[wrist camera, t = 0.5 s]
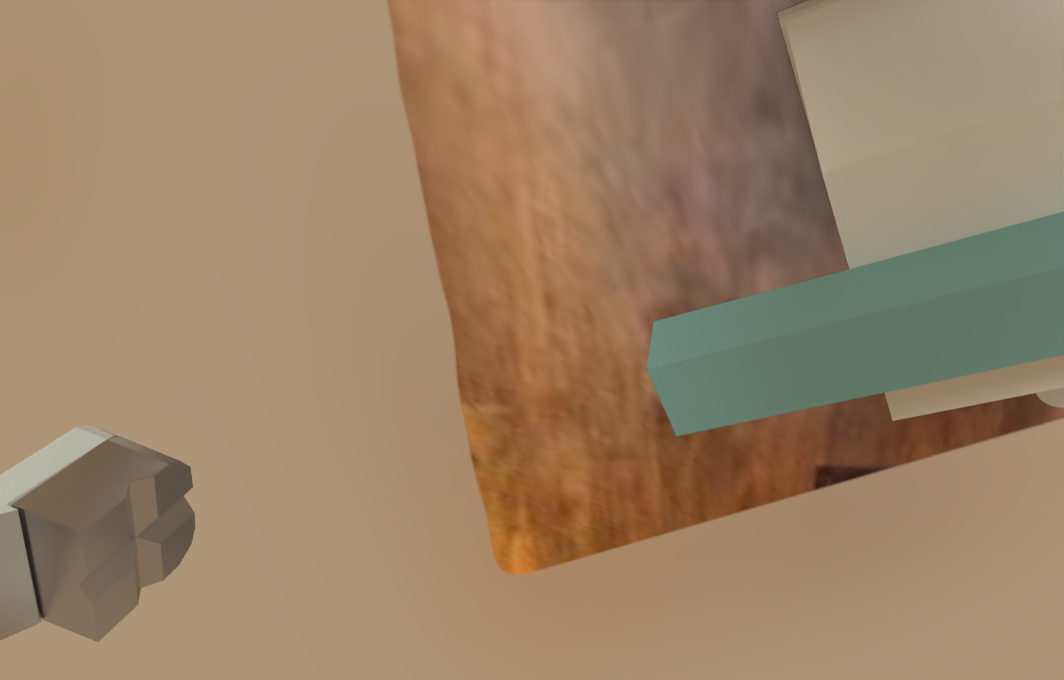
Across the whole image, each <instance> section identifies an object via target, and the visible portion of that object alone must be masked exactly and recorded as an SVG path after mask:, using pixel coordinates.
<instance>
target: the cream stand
mask: <svg viewBox="0 0 1064 680" xmlns="http://www.w3.org/2000/svg"><path fill="white" fill-rule="evenodd" d="M777 13H778V18H779V22H780V25H781V29H782V32H783V36H784V39H785V43H786V46H787V50H788V53H789V57H790V60H791V64H792V67H793V71H794V74H795V78H796V81H797V85H798V89H799V92H800V96H801V99H802V103H803V106H804V110H805V113H806V117H807V120H808V124H809V127H810V131H811V134H812V138H813V141H814V145H815V148H816V152H817V155H818V159H819V163H820V167H821V171H822V175H823V178H824V182H825V185H826V189H827V192H828V196H829V199H830V203H831V206H832V210H833V213H834V217H835V220H836V224H837V227H838V231H839V234H840V238H841V242H842V245H843V249H844V252H845V256H846V259H847V263H848V266H849V269H852V268H856V267H859V266H863V265H867V264H870V263H874V262H878V261H882V260H885V259H889V258H893V257H896V256H900V255H904V254H908V253H911V252H915V251H919V250H922V249H926V248H930V247H934V246H937V245H941V244H945V243H948V242H952V241H956V240H960V239H963V238H967V237H971V236H974V235H978V234H982V233H986V232H989V231H993V230H997V229H1000V228H1004V227H1008V226H1012V225H1015V224H1019V223H1023V222H1026V221H1030V220H1034V219H1038V218H1041V217H1045V216H1049V215H1052V214H1056V213H1060V212H1064V0H807V1H805V2H802V3H800V4H797V5H795V6H792V7H790V8H787V9H785V10H782V11H780V12H777ZM1059 388H1064V355H1062V356H1057V357H1052V358H1047V359H1043V360H1038V361H1033V362H1028V363H1024V364H1019V365H1014V366H1009V367H1004V368H1000V369H995V370H990V371H985V372H981V373H976V374H971V375H966V376H961V377H957V378H952V379H947V380H942V381H938V382H933V383H928V384H923V385H918V386H914V387H909V388H904V389H899V390H895V391H890V392H885V396H886V400H887V403H888V407H889V410H890V414H891V417H892V421H895V420H900V419H906V418H911V417H916V416H921V415H926V414H931V413H936V412H941V411H946V410H951V409H957V408H962V407H967V406H972V405H977V404H982V403H987V402H992V401H997V400H1003V399H1008V398H1013V397H1018V396H1023V395H1028V394H1033V393H1038V392H1043V391H1048V390H1054V389H1059Z"/></svg>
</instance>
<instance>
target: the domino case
mask: <svg viewBox="0 0 1064 680" xmlns="http://www.w3.org/2000/svg"><path fill="white" fill-rule="evenodd" d="M1062 355H1064V212H1060V213H1056V214H1052V215H1049V216H1045V217H1041V218H1038V219H1034V220H1030V221H1026V222H1023V223H1019V224H1015V225H1012V226H1008V227H1004V228H1000V229H997V230H993V231H989V232H986V233H982V234H978V235H974V236H971V237H967V238H963V239H960V240H956V241H952V242H948V243H945V244H941V245H937V246H934V247H930V248H926V249H922V250H919V251H915V252H911V253H908V254H904V255H900V256H896V257H893V258H889V259H885V260H882V261H878V262H874V263H870V264H867V265H863V266H859V267H856V268H852V269H848V270H844V271H841V272H837V273H833V274H830V275H826V276H822V277H818V278H815V279H811V280H807V281H804V282H800V283H796V284H792V285H789V286H785V287H781V288H778V289H774V290H770V291H766V292H763V293H759V294H755V295H752V296H748V297H744V298H740V299H737V300H733V301H729V302H726V303H722V304H718V305H714V306H711V307H707V308H703V309H700V310H696V311H692V312H688V313H685V314H681V315H677V316H674V317H670V318H666V319H662V320H659V321H655V322H654V323H653V330H652V337H651V344H650V351H649V358H648V365H647V371H648V373H649V375H650V377H651V380H652V382H653V384H654V386H655V389H656V391H657V393H658V395H659V398H660V400H661V402H662V404H663V407H664V409H665V411H666V413H667V416H668V418H669V420H670V422H671V425H672V427H673V429H674V431H675V434H676V436H680V435H685V434H689V433H694V432H699V431H704V430H708V429H713V428H718V427H723V426H728V425H732V424H737V423H742V422H747V421H751V420H756V419H761V418H766V417H770V416H775V415H780V414H785V413H790V412H794V411H799V410H804V409H809V408H813V407H818V406H823V405H828V404H833V403H837V402H842V401H847V400H852V399H856V398H861V397H866V396H871V395H876V394H880V393H885V392H890V391H895V390H899V389H904V388H909V387H914V386H918V385H923V384H928V383H933V382H938V381H942V380H947V379H952V378H957V377H961V376H966V375H971V374H976V373H981V372H985V371H990V370H995V369H1000V368H1004V367H1009V366H1014V365H1019V364H1024V363H1028V362H1033V361H1038V360H1043V359H1047V358H1052V357H1057V356H1062Z"/></svg>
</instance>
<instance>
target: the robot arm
mask: <svg viewBox="0 0 1064 680" xmlns="http://www.w3.org/2000/svg"><path fill="white" fill-rule="evenodd" d="M192 487H193V484H192V475H191V467H190V466H188V465H186V464H184V463H183V462H181V461H179V460H177V459H174V458H172V457H169V456H167V455H164V454H162V453H159V452H157V451H154V450H152V449H149V448H147V447H145V446H142V445H140V444H138V443H135V442H133V441H130V440H128V439H125V438H123V437H119V436H117V435H114V434H112V433H109V432H107V431H104V430H102V429H99V428H97V427H94V426H92V425H87V426H81V427H76V428H74V429H73V430H71V431H69V432H68V433H66V434H65V435H63V436H62V437H60V438H58V439H57V440H55V441H54V442H52V443H50V444H49V445H48V446H46V447H44V448H43V449H41V450H39V451H38V452H36V453H35V454H33V455H31V456H30V457H28V458H27V459H25V460H24V461H22V462H20V463H19V464H17V465H16V466H14V467H12V468H11V469H9V470H8V471H6V472H5V473H3V474H1V475H0V640H2V639H4V638H7V637H9V636H11V635H14V634H16V633H18V632H20V631H23V630H25V629H27V628H30V627H32V626H34V625H37V624H39V623H40V622H41V620H40V619H43V620H45V621H48V622H50V623H52V624H55V625H57V626H60V627H62V628H65V629H67V630H70V631H72V632H75V633H77V634H79V635H82V636H85V637H87V638H89V639H92V640H94V641H97V642H99V641H100V640H101V639H102V638H103V637H104V636H105V635H106V634H107V633H108V632H109V631H110V630H111V629H113V627H115V626H116V625H117V624H118V623H119V622H120V621H121V620H122V619H123V618H124V617H125V616H126V615H127V614H128V613H129V612H131V611H132V610H133V609H134V608H135V607H136V606H137V605H138V601H139V595H140V590H141V588H142V587H145V586H148V585H151V584H154V583H157V582H160V581H163V580H164V579H165V578H166V577H167V576H168V575H169V574H170V573H171V572H172V571H173V570H174V569H175V568H176V567H177V566H178V565H179V564H180V563H181V561H182V559H183V557H184V556H185V554H186V552H187V551H188V549H189V547H190V545H191V543H192V539H193V534H194V530H195V514H194V512H193V510H192V508H191V507H190V505H189V503H188V502H187V500H186V499H185V497H184V495H185V494H186V493H187V492H188V491H189V490H190V489H191V488H192Z"/></svg>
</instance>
